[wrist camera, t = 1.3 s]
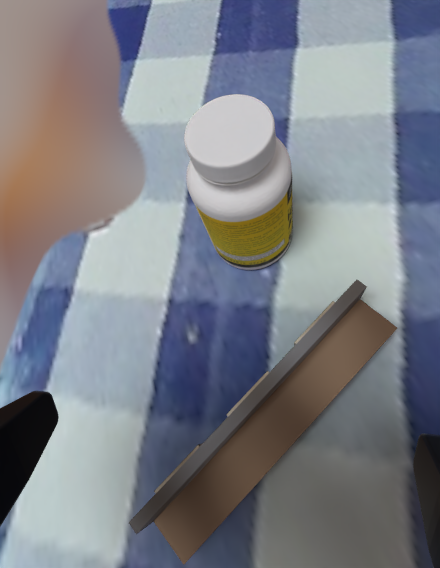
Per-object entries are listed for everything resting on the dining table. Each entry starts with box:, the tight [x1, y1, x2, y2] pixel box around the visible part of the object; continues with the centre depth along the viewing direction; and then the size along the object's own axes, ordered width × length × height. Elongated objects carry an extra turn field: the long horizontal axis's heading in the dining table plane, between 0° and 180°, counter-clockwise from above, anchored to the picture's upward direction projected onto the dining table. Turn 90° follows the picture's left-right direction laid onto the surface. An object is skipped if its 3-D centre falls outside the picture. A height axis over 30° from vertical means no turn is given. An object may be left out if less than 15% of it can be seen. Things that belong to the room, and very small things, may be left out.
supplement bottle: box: [184, 94, 293, 270], centre depth 20 cm, size 5×5×10 cm
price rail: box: [129, 280, 397, 564], centre depth 18 cm, size 16×3×4 cm, turn 134°
